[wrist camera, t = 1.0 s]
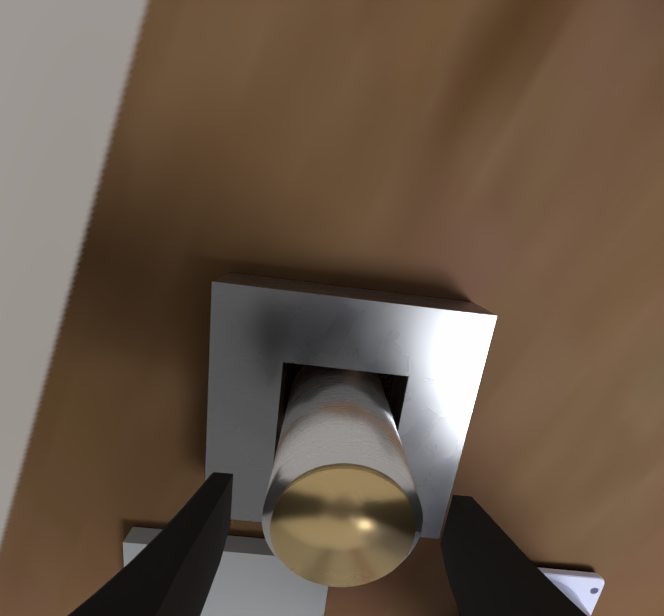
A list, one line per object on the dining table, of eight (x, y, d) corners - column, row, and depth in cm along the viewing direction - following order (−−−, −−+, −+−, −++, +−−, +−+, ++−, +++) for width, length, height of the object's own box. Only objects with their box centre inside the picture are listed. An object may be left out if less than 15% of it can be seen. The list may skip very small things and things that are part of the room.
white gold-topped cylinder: (375, 441, 18) (409, 600, 11) (286, 432, 18) (254, 587, 11) (390, 358, 17) (441, 470, 9) (295, 347, 17) (266, 453, 9)
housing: (425, 499, 19) (438, 538, 17) (219, 479, 19) (203, 516, 17) (472, 302, 16) (497, 316, 14) (229, 272, 16) (211, 281, 14)
